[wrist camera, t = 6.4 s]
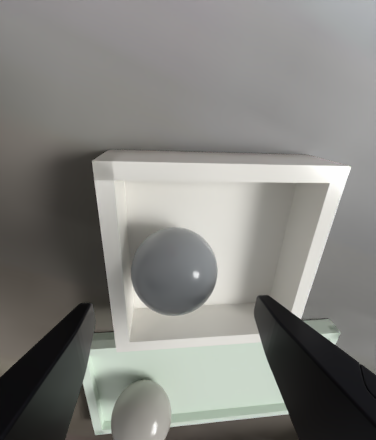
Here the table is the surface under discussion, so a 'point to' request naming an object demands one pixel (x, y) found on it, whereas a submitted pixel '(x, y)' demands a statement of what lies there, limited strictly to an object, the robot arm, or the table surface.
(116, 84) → the table surface
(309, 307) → the table surface
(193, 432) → the table surface
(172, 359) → the tray
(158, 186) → the open box
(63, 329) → the robot arm
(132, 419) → the pebble
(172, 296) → the pebble
